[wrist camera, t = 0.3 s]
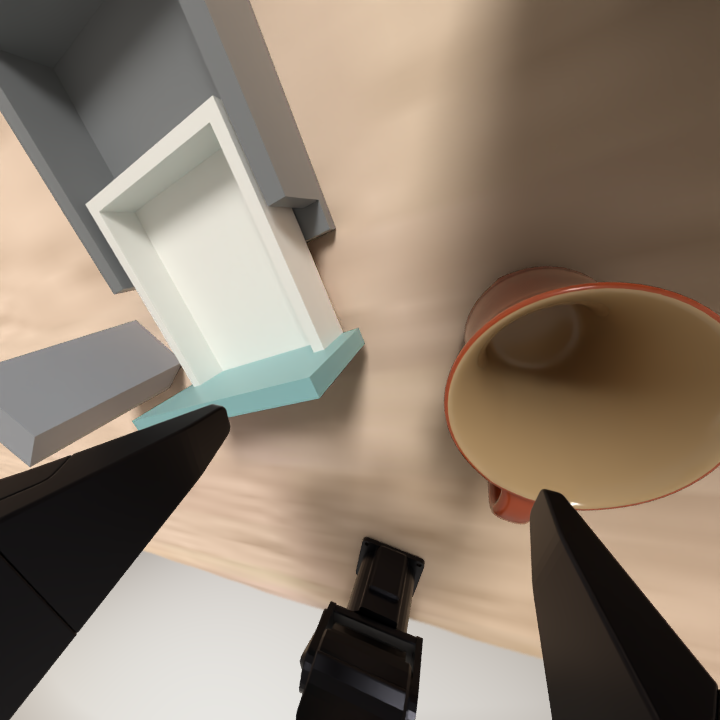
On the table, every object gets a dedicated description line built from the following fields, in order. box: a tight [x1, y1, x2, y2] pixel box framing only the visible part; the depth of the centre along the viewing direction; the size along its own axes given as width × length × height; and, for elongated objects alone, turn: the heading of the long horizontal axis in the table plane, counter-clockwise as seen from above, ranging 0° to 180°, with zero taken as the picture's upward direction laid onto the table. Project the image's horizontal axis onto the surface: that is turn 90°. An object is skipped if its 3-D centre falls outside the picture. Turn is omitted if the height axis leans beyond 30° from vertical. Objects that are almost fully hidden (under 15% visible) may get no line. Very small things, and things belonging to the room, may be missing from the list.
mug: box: [444, 266, 720, 524], centre depth 16 cm, size 12×9×10 cm
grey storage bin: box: [0, 0, 336, 294], centre depth 19 cm, size 18×16×5 cm
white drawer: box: [85, 95, 365, 431], centre depth 20 cm, size 15×15×8 cm
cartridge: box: [0, 320, 181, 467], centre depth 26 cm, size 4×6×12 cm
